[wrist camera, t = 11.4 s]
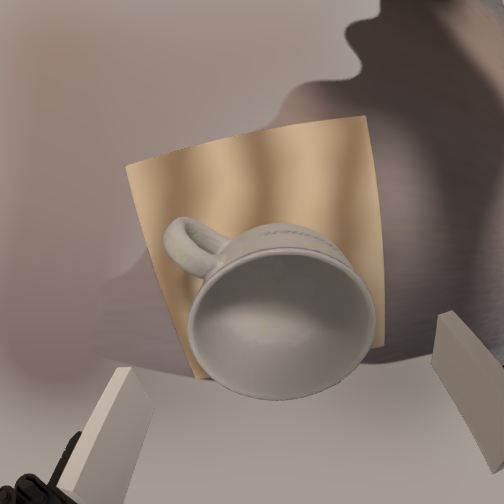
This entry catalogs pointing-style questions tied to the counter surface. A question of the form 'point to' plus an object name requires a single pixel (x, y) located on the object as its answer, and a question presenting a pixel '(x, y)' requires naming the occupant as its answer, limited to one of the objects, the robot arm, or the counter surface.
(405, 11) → the counter surface
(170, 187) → the wooden riser stand
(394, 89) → the counter surface
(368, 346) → the teacup
